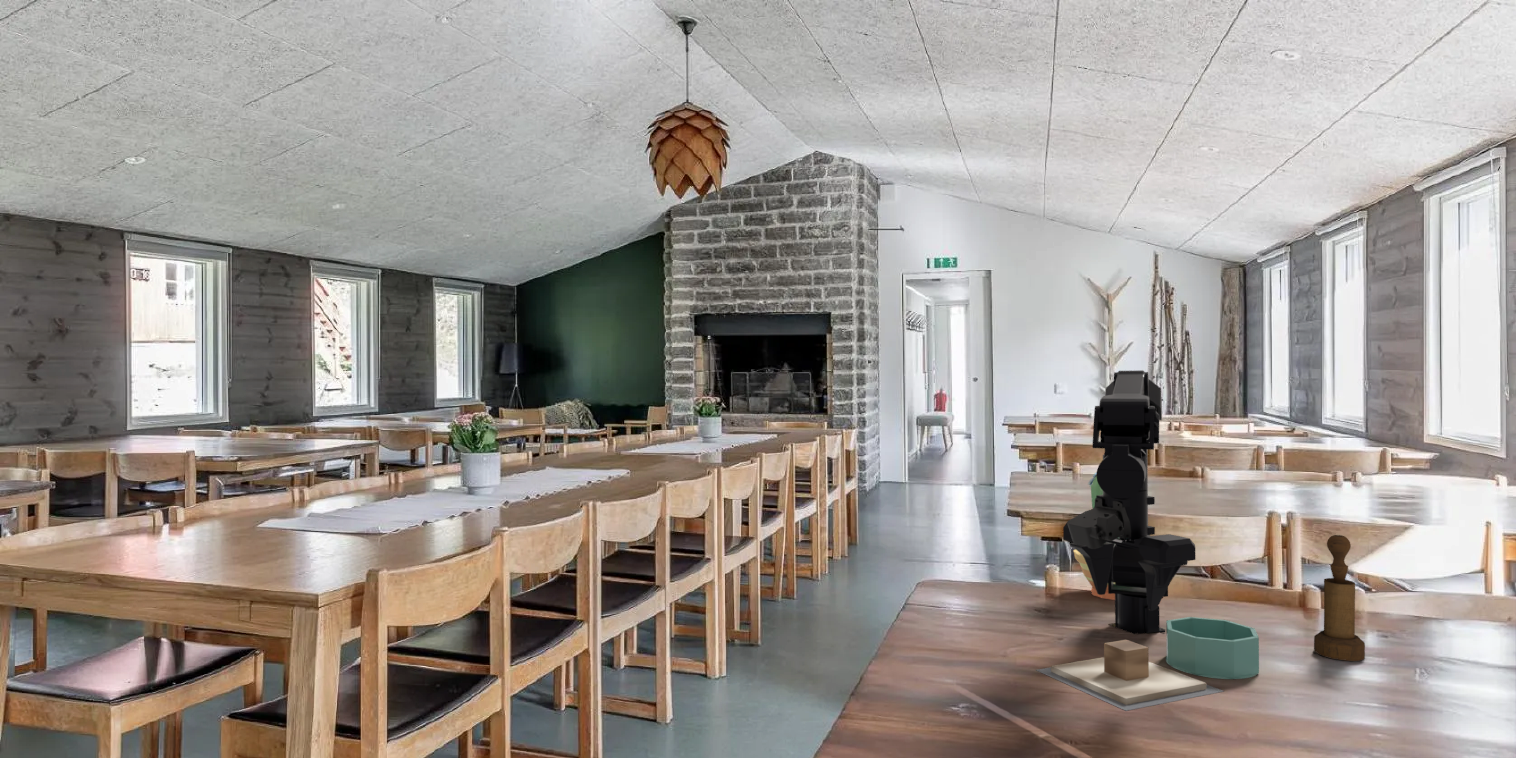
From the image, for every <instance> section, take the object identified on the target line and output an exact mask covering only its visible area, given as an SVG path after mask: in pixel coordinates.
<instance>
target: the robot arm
mask: <svg viewBox="0 0 1516 758" xmlns="http://www.w3.org/2000/svg"><path fill="white" fill-rule="evenodd" d="M1149 376H1150V375H1149V372H1148V371H1145V370H1143V369H1142V370H1118V371H1116V372H1113V381H1112V382H1111V383H1110V384H1108V385H1107V386H1106V388H1105V391H1104V392H1105V393H1104V395H1103V396H1102V397H1101V398H1100V400H1099V405H1094V410H1093V411H1094V413H1093V430H1092V449H1104V452H1103V454H1102V460H1101V462H1100V463H1099V465H1098V467H1097V470H1096V472H1097V474H1096V476H1097V482H1098V484H1099V486H1100V487H1101V489H1102V490H1103V495H1096V498H1095V506H1094V508H1093V507H1092V508H1091V509H1088V510H1085V511H1083V512H1082V513H1079V514H1078V515H1076V516H1074V517H1073V518H1071V519H1069V520H1067V521H1066V523H1065V524H1064V525H1063V528H1062V529H1063V530H1062V531H1063V535H1062V537H1063V541H1068V542H1069V546H1070V547H1071V548H1073V549H1074V550H1077V551H1078V552H1080V553H1081V554H1082V555H1083V557H1084V559H1085V561H1086V563H1087V566H1088V568H1089V571H1090V574H1091V577H1092V580H1093V582H1094V585H1095V588H1096V591H1097V594H1099V595H1104V594H1105V592H1106V589H1107V585H1108V594H1112V593H1114V594H1115V600H1114V605H1115V606H1114V618H1115V619H1114V623H1107V625H1108V626H1110V627H1113V628H1115V629H1119V630H1121V631H1124V632H1127V633H1131V634H1133V635H1144V634H1151V633H1159V634H1162V633H1166V628H1163V627H1161V626H1160V603H1161V601H1162V600H1163V599H1164V598H1166V597H1169V585H1170V584H1171V583H1172V580H1173V579H1174V578H1175V576H1176V575H1177V574H1178V571H1179V570H1180V568H1182V566H1187V565H1188V563H1189V562H1190V561H1195V560H1196V544H1195V543H1194V541H1193V540H1192V539H1191V538H1189V537H1185V536H1180V535H1175V534H1171V533H1168V534H1167V533H1166V534H1160V535H1159V534H1158V535H1155V534H1156V531H1155V529H1156V527H1155V526H1152V525H1149V506H1152V505H1153V506H1154V505H1155V503H1156V501H1155V496H1150V495H1148V494H1149V489H1148V488H1149V485H1148V484H1149V482H1148V481H1149V480H1148V479H1149V478H1148V477H1149V476H1148V475H1149V474H1148V471H1149V470H1148V464H1149V463H1148V459H1149V458H1148V451H1149V450H1151V451H1153V450H1155V444H1156V445H1157V444H1160V421H1162V420H1163V419H1162V418H1163V416H1162V415H1163V406H1162V405H1163V403H1162V402H1163V401H1162V388H1161V387H1160V386H1158V384H1156V383H1155V382H1154V381H1152V380H1150V377H1149ZM1099 439H1100V440H1099ZM1118 537H1119V538H1118ZM1114 582H1115V584H1114Z"/></svg>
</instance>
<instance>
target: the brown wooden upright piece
mask: <svg viewBox="0 0 1516 758" xmlns="http://www.w3.org/2000/svg"><path fill="white" fill-rule="evenodd" d="M1351 545H1352V544H1351V541H1350V540H1349V538H1347V537H1346V536H1345V535H1342V534H1332V535H1331V536H1330V537H1329V538H1328V539H1327V541H1326V547H1327V549H1328V551H1329V552H1330V554H1331V555H1332V563H1331V564H1330V566H1329V567H1330V571H1331V574H1332V577H1327V578H1323V597H1324V599H1323V602H1324V603H1323V604H1324V605H1323V630H1321V631H1319V632H1318V633H1317V634H1315V635H1314V637H1313V651H1314V652H1315V653H1316V654H1317V655H1320V656H1322V657H1326V658H1329V659H1332V660H1339V661H1340V660H1341V661H1349V662H1360V661H1363V660H1364V659H1365V658H1366V652H1365V651H1366V644H1365V641H1364V640H1362V639H1361V638H1360V637H1359V636H1358V635H1356V633H1355V631H1356V629H1355V628H1356V627H1355V626H1356V625H1355V624H1356V623H1355V622H1356V620H1355V619H1356V612H1355V611H1356V610H1355V609H1356V582H1355V581H1352V580H1349V579H1346V578H1347V574H1348V570H1349V566H1348V565H1347V564H1346V563H1345V562H1346V561H1345V559H1346V556H1347V555H1348V553H1349V552H1350V550H1351Z"/></svg>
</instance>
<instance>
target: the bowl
mask: <svg viewBox="0 0 1516 758" xmlns="http://www.w3.org/2000/svg"><path fill="white" fill-rule="evenodd" d="M1165 623H1166V626H1165V627H1166V628H1165V633H1166V656H1165V662H1166V664H1168V666H1170V667H1172V669H1173V668H1174V669H1176V670H1178V671H1181V672H1184V673H1187V674H1190V675H1194V676H1198V677H1204V678H1205V677H1206V678H1209V679H1211V678H1212V679H1219V680H1221V679H1223V680H1241V679H1242V680H1243V679H1249V678H1253V677H1255V676H1257V675H1258V674H1260V638H1259V635H1258V633H1257V631H1256V629H1255V627H1251V626H1248V625H1245V624H1241V623H1238V622H1234V621H1231V620H1228V619H1227V620H1226V619H1220V618H1219V619H1218V618H1205V617H1195V616H1188V617H1187V616H1186V617H1180V618H1175V619H1174V618H1173V619H1169V620H1166V621H1165Z"/></svg>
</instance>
